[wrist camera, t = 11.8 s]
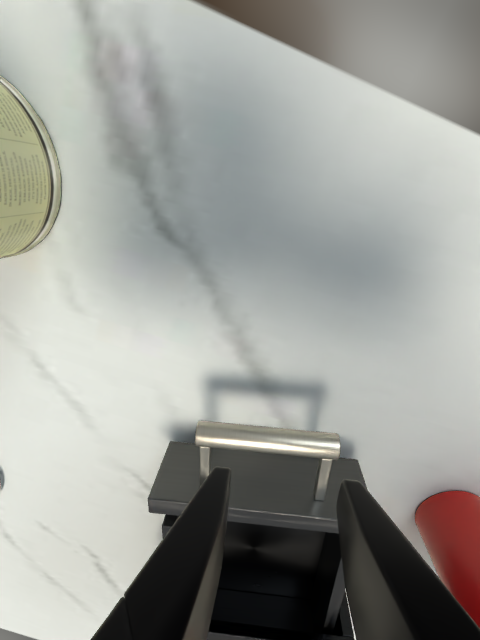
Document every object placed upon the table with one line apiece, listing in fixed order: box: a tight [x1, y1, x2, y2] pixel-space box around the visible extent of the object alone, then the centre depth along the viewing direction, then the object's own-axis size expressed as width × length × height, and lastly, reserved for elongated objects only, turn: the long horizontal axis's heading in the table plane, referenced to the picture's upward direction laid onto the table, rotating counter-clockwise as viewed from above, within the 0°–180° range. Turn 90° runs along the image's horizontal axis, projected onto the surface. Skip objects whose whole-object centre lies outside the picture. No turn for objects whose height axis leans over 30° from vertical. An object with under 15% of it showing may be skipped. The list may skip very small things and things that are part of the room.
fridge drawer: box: [148, 421, 367, 635], centre depth 23 cm, size 20×13×5 cm, turn 177°
